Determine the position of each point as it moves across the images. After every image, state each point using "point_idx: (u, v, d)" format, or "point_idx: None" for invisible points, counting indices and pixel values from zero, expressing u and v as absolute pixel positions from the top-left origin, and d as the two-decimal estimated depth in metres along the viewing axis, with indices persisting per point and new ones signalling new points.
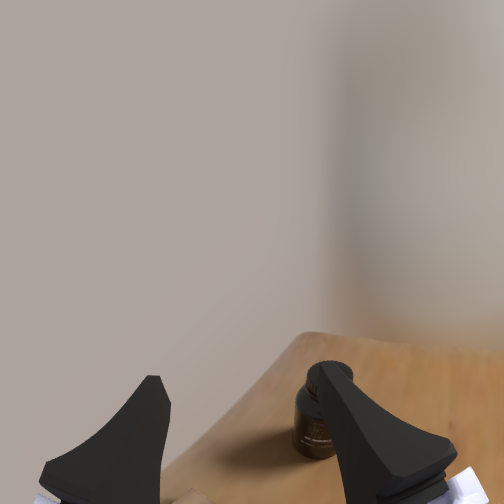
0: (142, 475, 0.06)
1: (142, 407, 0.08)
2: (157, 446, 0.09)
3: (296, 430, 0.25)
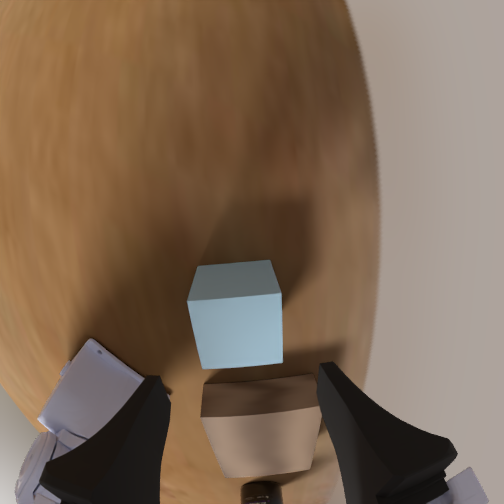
0: (142, 475, 0.06)
1: (142, 407, 0.08)
2: (157, 446, 0.09)
3: (275, 501, 0.28)
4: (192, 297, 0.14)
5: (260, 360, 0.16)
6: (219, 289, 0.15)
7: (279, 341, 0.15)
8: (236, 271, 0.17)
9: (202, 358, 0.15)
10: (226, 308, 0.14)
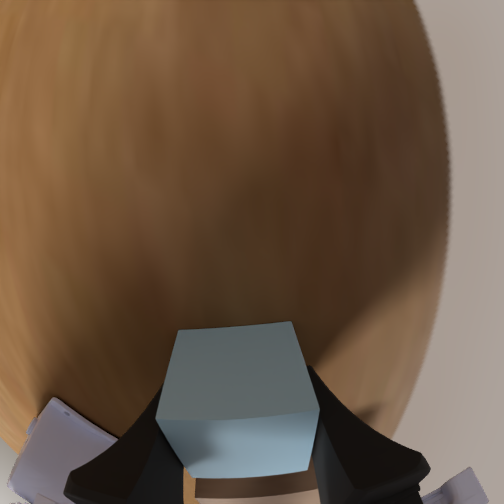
0: (168, 478, 0.07)
1: None
2: None
3: None
4: (164, 410, 0.07)
5: (275, 471, 0.08)
6: (210, 393, 0.08)
7: (306, 455, 0.08)
8: (239, 348, 0.10)
9: (190, 470, 0.08)
10: (222, 430, 0.07)
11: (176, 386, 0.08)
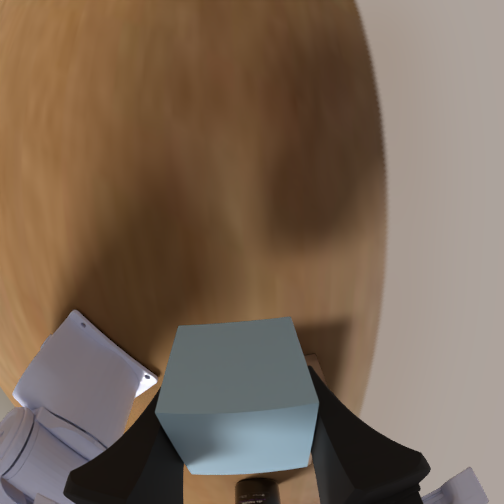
0: (168, 478, 0.07)
1: None
2: None
3: (271, 499, 0.26)
4: (164, 404, 0.07)
5: (275, 468, 0.09)
6: (210, 387, 0.08)
7: (306, 450, 0.08)
8: (238, 343, 0.10)
9: (190, 466, 0.08)
10: (222, 424, 0.07)
11: (176, 380, 0.08)
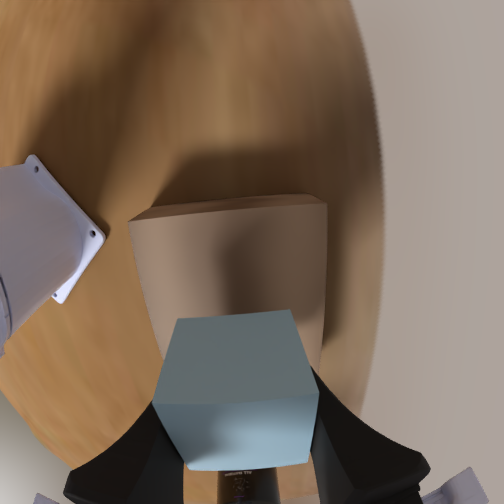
0: (168, 478, 0.07)
1: None
2: None
3: (265, 471, 0.22)
4: (161, 395, 0.07)
5: (275, 463, 0.08)
6: (208, 377, 0.08)
7: (306, 444, 0.08)
8: (237, 335, 0.10)
9: (188, 461, 0.08)
10: (220, 416, 0.07)
11: (174, 371, 0.08)
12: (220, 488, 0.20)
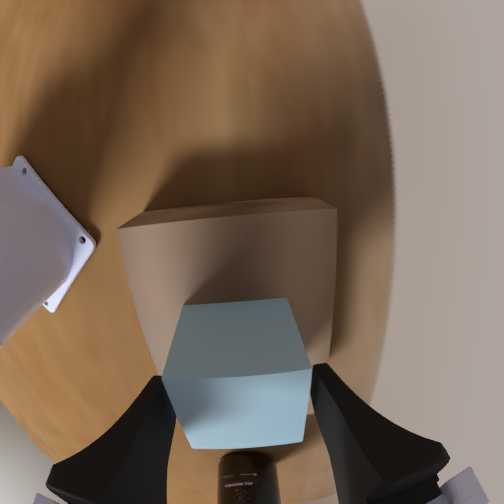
0: (150, 476, 0.07)
1: (149, 408, 0.08)
2: (164, 447, 0.09)
3: (266, 481, 0.20)
4: (170, 371, 0.08)
5: (272, 441, 0.10)
6: (212, 356, 0.09)
7: (301, 422, 0.09)
8: (239, 319, 0.11)
9: (191, 439, 0.09)
10: (223, 390, 0.08)
11: (181, 350, 0.09)
12: (220, 499, 0.19)
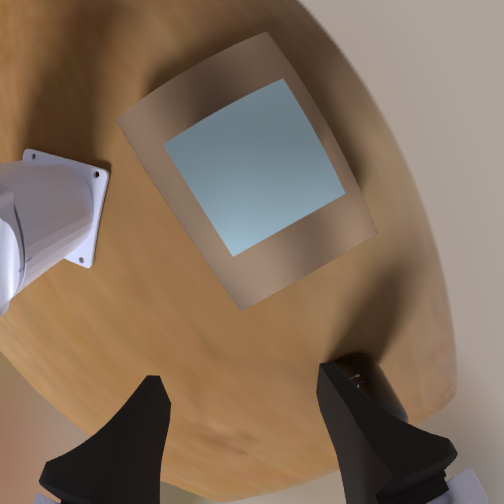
0: (142, 475, 0.06)
1: (142, 407, 0.08)
2: (157, 446, 0.09)
3: (373, 379, 0.20)
4: None
5: (311, 200, 0.10)
6: None
7: (321, 154, 0.09)
8: None
9: (224, 234, 0.10)
10: (219, 129, 0.09)
11: None
12: None
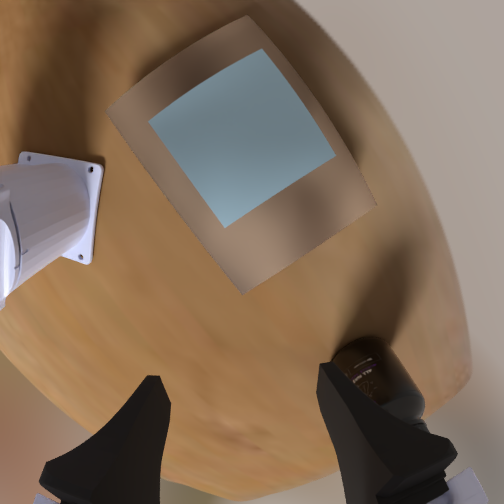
0: (142, 475, 0.06)
1: (142, 407, 0.08)
2: (157, 446, 0.09)
3: (386, 361, 0.20)
4: None
5: (301, 164, 0.09)
6: None
7: (307, 117, 0.09)
8: None
9: (213, 205, 0.10)
10: (202, 101, 0.08)
11: None
12: None
